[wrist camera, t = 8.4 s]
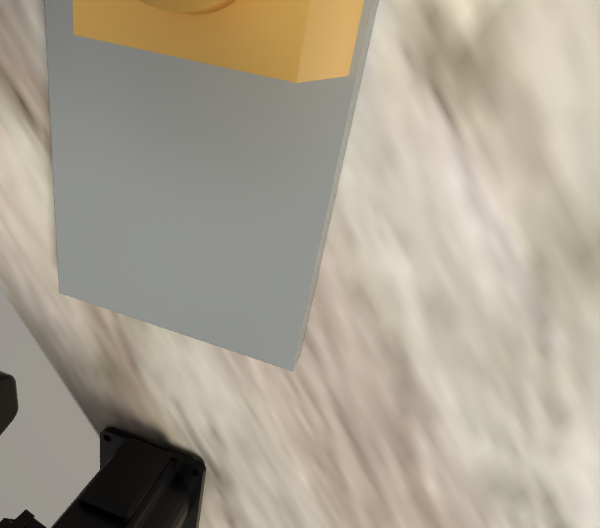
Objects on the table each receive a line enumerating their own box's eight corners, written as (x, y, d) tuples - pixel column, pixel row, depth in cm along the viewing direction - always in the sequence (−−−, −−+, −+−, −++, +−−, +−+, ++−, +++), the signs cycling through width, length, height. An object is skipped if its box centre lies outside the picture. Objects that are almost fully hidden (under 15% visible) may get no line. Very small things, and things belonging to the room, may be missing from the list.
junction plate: (300, 356, 22) (260, 434, 17) (76, 282, 24) (-12, 334, 19) (407, -129, 14) (387, -223, 9) (61, -174, 16) (-93, -268, 12)
